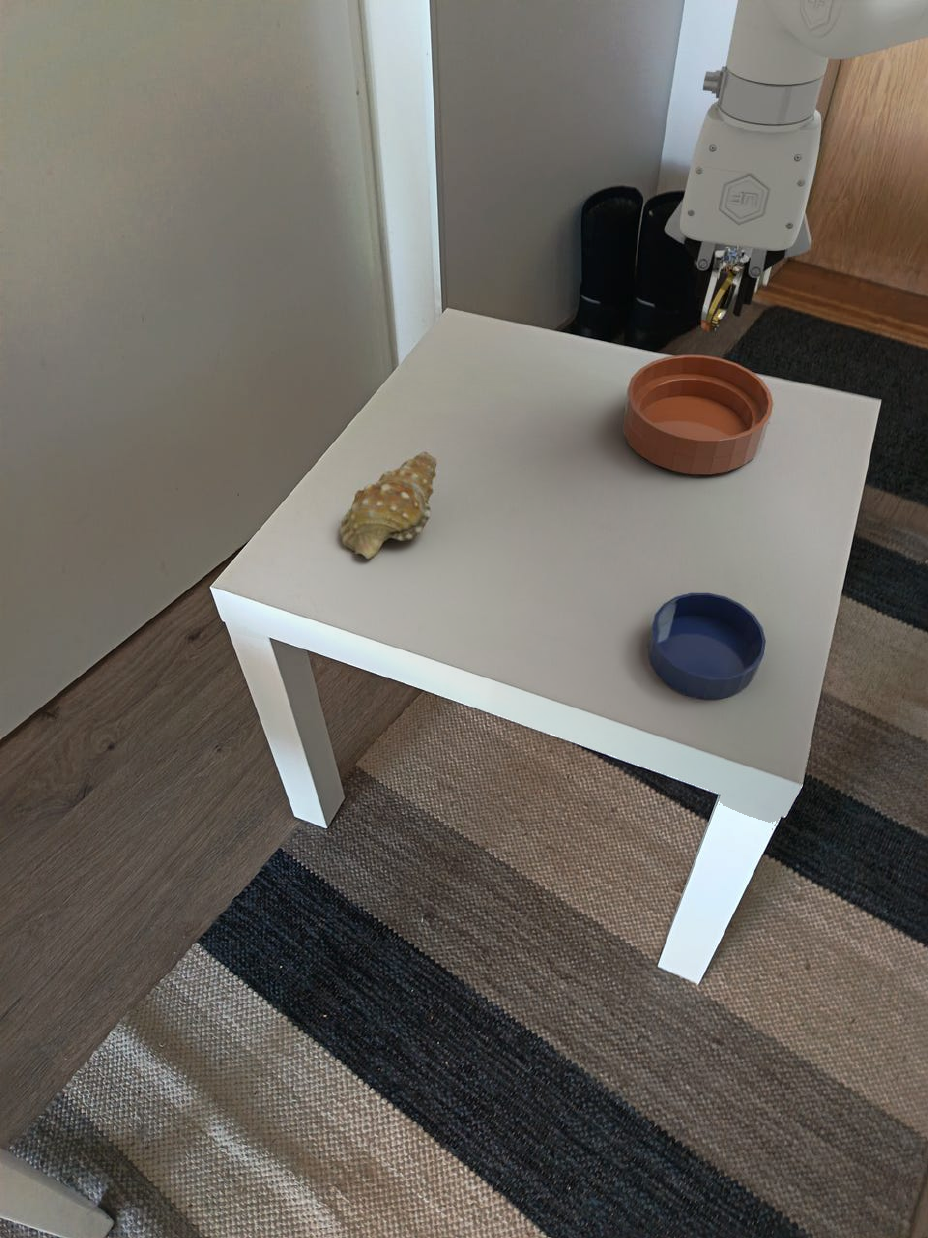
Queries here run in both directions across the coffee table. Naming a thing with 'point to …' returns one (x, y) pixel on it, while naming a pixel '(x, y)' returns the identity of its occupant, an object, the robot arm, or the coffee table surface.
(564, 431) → the coffee table surface
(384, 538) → the seashell
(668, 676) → the blue round dish
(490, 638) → the coffee table surface
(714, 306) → the ring
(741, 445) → the bowl
